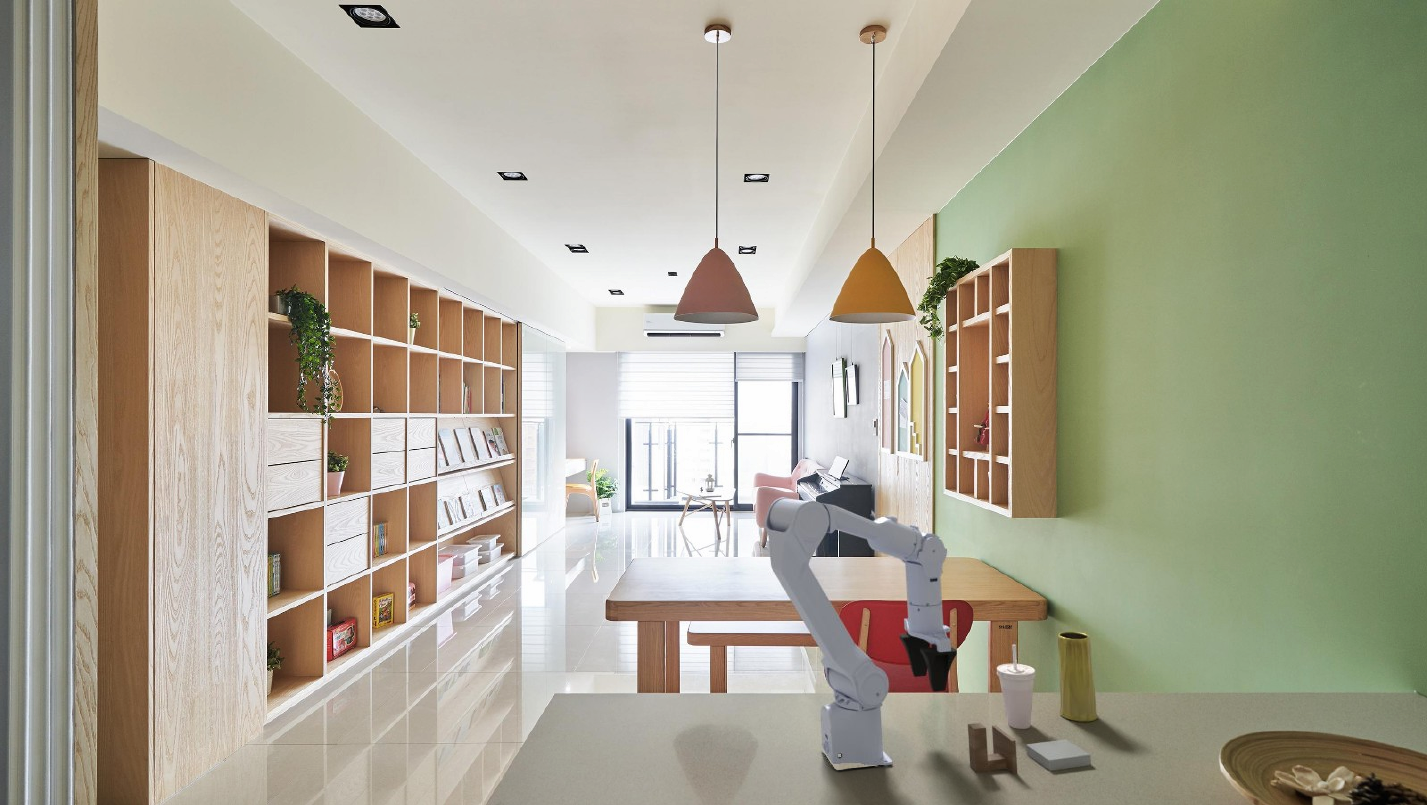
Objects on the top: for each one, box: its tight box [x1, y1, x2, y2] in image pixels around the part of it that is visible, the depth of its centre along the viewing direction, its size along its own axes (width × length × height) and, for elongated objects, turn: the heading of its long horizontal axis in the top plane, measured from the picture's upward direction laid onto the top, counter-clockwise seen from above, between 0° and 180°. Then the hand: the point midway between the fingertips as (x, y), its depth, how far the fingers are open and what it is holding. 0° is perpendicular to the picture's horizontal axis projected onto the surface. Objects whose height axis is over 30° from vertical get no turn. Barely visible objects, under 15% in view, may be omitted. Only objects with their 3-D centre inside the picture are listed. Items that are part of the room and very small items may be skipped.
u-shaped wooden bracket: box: [967, 722, 1018, 775], centre depth 118 cm, size 6×6×6 cm
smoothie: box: [996, 644, 1037, 730], centre depth 134 cm, size 6×6×14 cm
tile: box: [1026, 738, 1092, 771], centre depth 119 cm, size 2×6×7 cm
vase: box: [1057, 631, 1099, 723], centre depth 136 cm, size 6×6×14 cm
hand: (929, 682), depth 129 cm, fingers open, 7 cm apart
